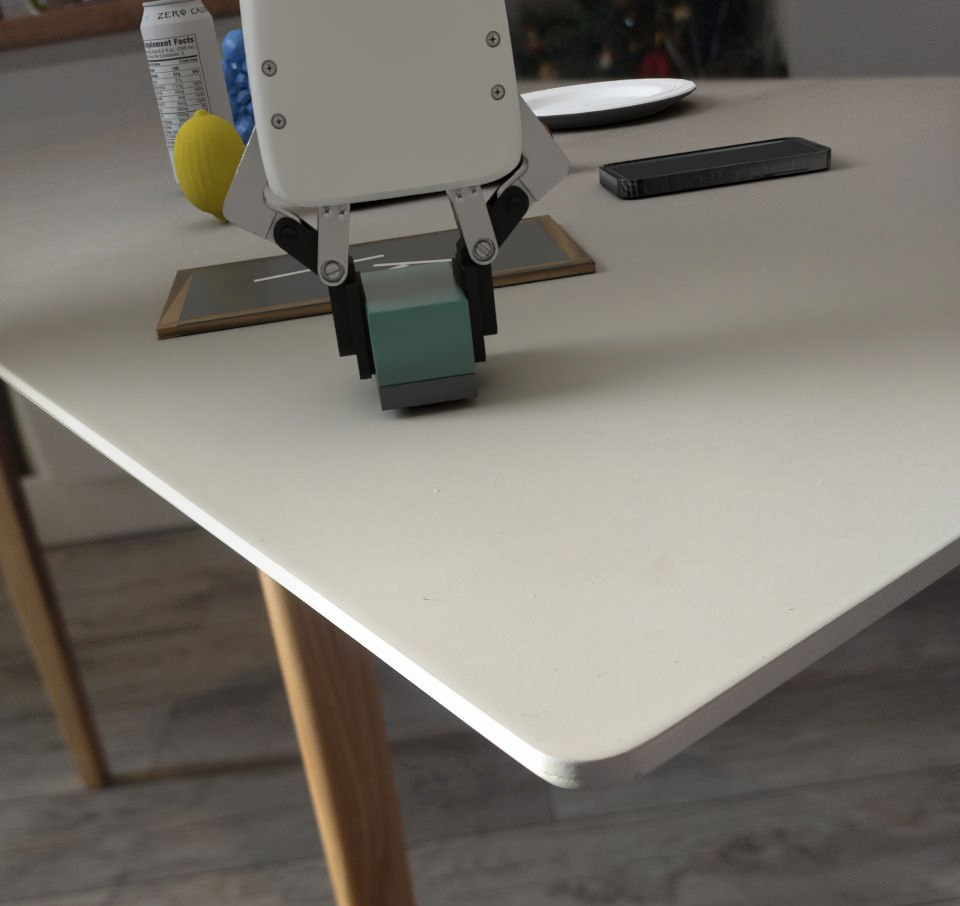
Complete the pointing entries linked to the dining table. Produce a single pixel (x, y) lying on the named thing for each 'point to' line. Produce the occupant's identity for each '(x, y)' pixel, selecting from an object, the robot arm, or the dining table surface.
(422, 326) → the eraser
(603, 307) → the dining table surface
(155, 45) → the energy drink can
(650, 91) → the plate
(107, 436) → the dining table surface
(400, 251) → the slate board
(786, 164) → the phone
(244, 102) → the grapes
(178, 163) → the lemon
